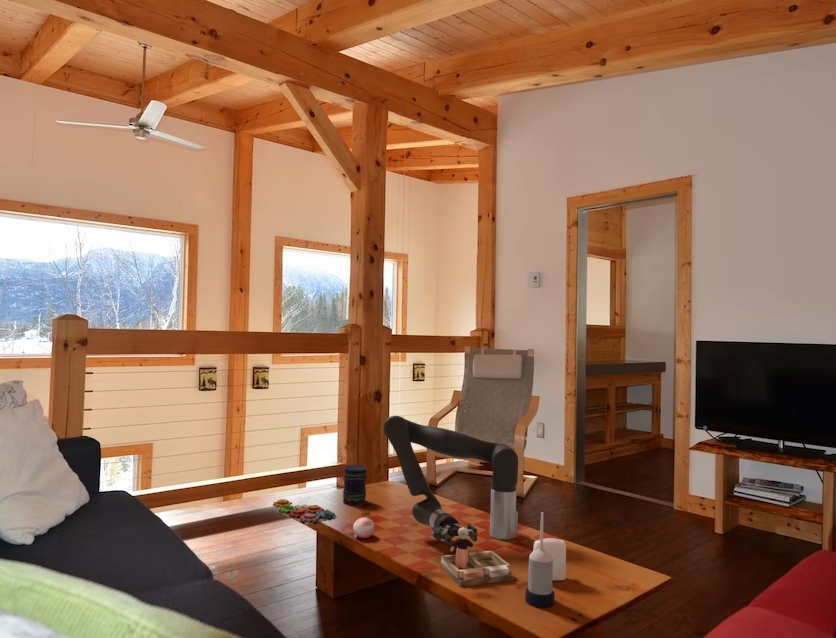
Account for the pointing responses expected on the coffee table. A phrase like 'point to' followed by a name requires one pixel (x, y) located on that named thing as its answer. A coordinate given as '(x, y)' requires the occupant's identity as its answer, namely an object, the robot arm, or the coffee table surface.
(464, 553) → the grandmother figurine
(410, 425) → the robot arm
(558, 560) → the photo printer
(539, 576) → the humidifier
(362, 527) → the onion
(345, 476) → the storage jar
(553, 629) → the coffee table surface
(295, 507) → the gear puzzle
